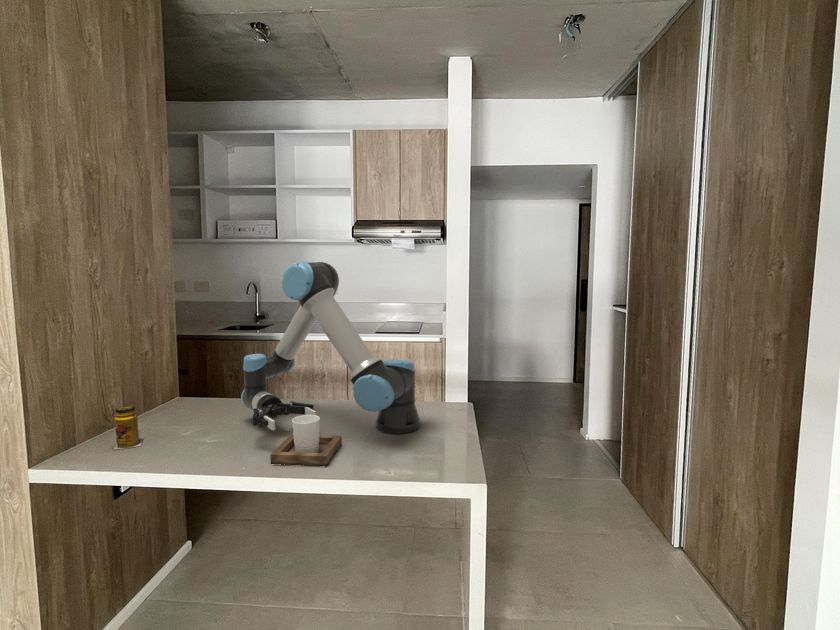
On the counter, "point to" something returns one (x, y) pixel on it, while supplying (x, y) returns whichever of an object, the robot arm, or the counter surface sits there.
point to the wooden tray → (322, 458)
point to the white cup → (306, 433)
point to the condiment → (127, 428)
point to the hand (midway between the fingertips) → (295, 420)
